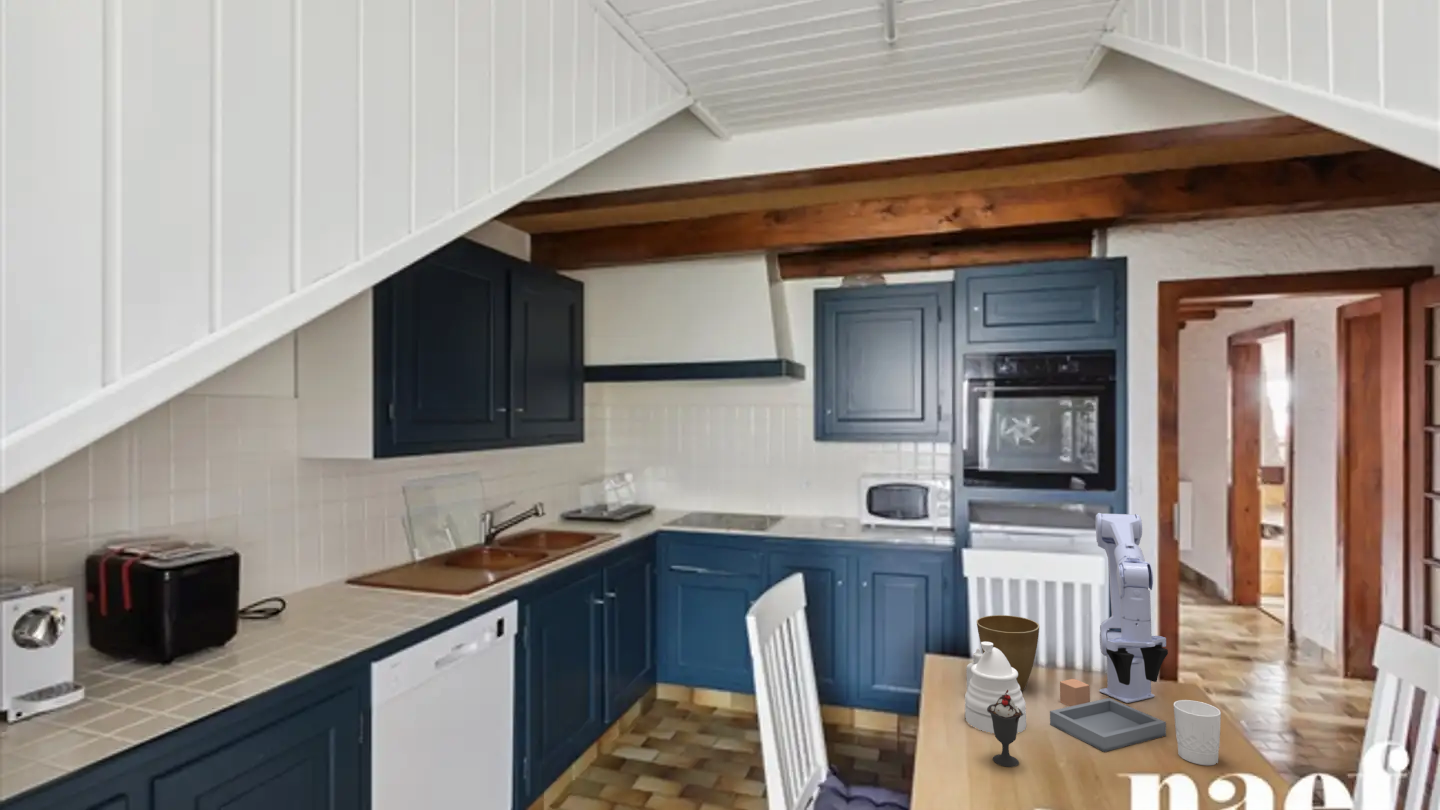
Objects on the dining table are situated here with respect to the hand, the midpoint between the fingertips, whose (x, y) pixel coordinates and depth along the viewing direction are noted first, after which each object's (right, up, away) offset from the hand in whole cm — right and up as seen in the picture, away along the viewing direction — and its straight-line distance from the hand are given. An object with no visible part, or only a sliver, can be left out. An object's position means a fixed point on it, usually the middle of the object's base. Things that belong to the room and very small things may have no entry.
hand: (1137, 682), depth 155 cm
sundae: (-33, -12, -12) cm, 37 cm away
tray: (-6, -11, +1) cm, 13 cm away
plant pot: (-17, -12, +27) cm, 34 cm away
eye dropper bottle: (-27, -12, +20) cm, 36 cm away
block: (-6, -11, +15) cm, 20 cm away
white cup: (+5, -11, -11) cm, 17 cm away
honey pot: (-28, -12, +6) cm, 31 cm away
